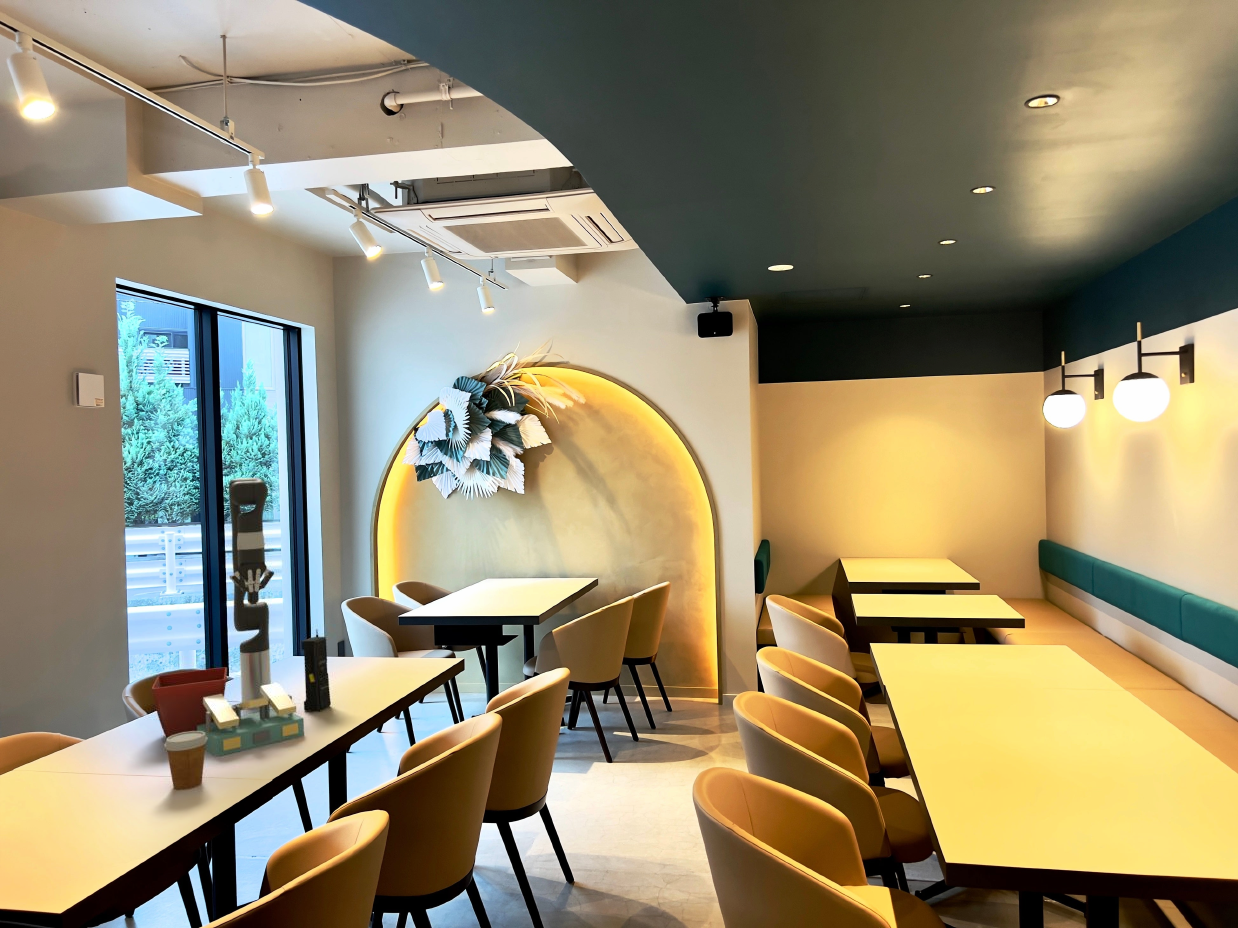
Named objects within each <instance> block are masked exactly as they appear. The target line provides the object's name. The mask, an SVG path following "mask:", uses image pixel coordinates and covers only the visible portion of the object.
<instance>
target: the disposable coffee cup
mask: <svg viewBox="0 0 1238 928" xmlns="http://www.w3.org/2000/svg"><path fill="white" fill-rule="evenodd" d="M207 739H208V738H207V737H206V734H205V732H202V731H189V732H183V733H178V734H175V735H172V736H170V737H168V738H166V740H165V743H164V745H163V746H164V747H165V749H166V754H167V758H168V759H167V760H168V764H169V769H170V775H171V781H172V787H173V789H174V790H180V789H182V790H188V789H193V788H196V787H198V786H200V785H202V783H203V774H204V763H205V754H206V753H205V752H206V749H205V744H206V741H207ZM195 786H196V787H195Z"/></svg>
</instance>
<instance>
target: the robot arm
mask: <svg viewBox="0 0 1238 928" xmlns="http://www.w3.org/2000/svg"><path fill="white" fill-rule="evenodd" d="M268 494H269V489H268V486H267V484H266V483H265V482H264V481H263V480H262V479H261V478H258V477H257V478H256V477H246V478H245V477H244V478H243V477H241V478H232V479H230V480H229V484H228V496H229V507H230V508H229V509H230V519H231V555H232V571H233V573H232V574H231V575H229V579H230V580H231V581H232V582H233V624H234V625H233V626H234V629H235V631H237V632H251V631H252V632H253V631H257V630H258V633H256V634H255V635H254V636H252V637H251V638H248V639H246V640H243V641H242V642H241V643H240V644H239V659H240V660H239V663H240V685H241V686H240V687H241V689H240V690H241V703H243V702H247V701H251V700H256V699H260V698H264V696H263V695H262V694H261V693H260V687H261V686H263V685H268V684H272V679H271V677H272V676H271V674H272V673H271V658H270V657H271V656H270V655H271V654H270V653H271V652H270V650H271V649H270V634H269V631H270V629H269V627H270V625H269V624H270V610H269V604H268V603H267V602H265V601H259V599H260V597H259V593H260V592H259V591H260V590H264V589H265V588H266V587H267V585H268V583H269V582H270V580H271V579H272V577H273V576H274V575H275V572H274V571H271V570H270V569H268V567H267V565H266V558H265V557H266V553H265V551H266V549H265V544H266V543H265V536H264V532H263V531H264V526H263V522H264V521H263V519H264V517H263V516H264V509H265V505H266V502H267V497H268ZM243 506H255V507H254V508H253V509H252V510H249V511H245V512H242V510H241V507H243ZM263 576H264V577H263ZM262 577H263V578H262ZM246 594H247V595H246ZM246 596H247V603H246V602H245V597H246Z"/></svg>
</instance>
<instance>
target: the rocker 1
mask: <svg viewBox="0 0 1238 928" xmlns="http://www.w3.org/2000/svg"><path fill="white" fill-rule="evenodd" d="M203 705H204V706H205V708H206V709H207V711H208V712H210V713H211V717H212V718H213V720H214V721H215V723H216V724H217V726H218V727H219V729H222V728H227V727H231V726H236V725H239V718H238V716H237V715H236V713H235V712H234V711H233V709H232V708H231V707H232V705H230V703H229V702H228V701H227V699H226V698H225V695H224V696H223V695H222V694H218V695H213V696H208V697H203Z"/></svg>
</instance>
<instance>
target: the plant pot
mask: <svg viewBox="0 0 1238 928" xmlns="http://www.w3.org/2000/svg"><path fill="white" fill-rule="evenodd" d="M227 674H228V667H225V666H223V667H216V668H215V667H214V668H207V669H205V668H204V669H197V670H190V671H183V672H175V673H167V674H161V675H157V678H156V679H155V681H154V683H153V685H152V687H151V692H152V698H153V702H154V707H155V709H156V712H157V716H158V721H159V723H160V726H161V728H162V731H163V734H164V736H165V738H166V739H167V738H168V737H170V736H172V735H175V734H178V733H183V732H189V731H197V726H198V725H202V724H206V712H208V711H207V709H206V708H205V706H204V705H203V697H208V696H213V695H218V694H222V695H223V696H224V697H225V692H226V686H227V685H226V684H227V676H228V675H227ZM212 722H215V721H214V720H213V718H212V717H211V723H212Z"/></svg>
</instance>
